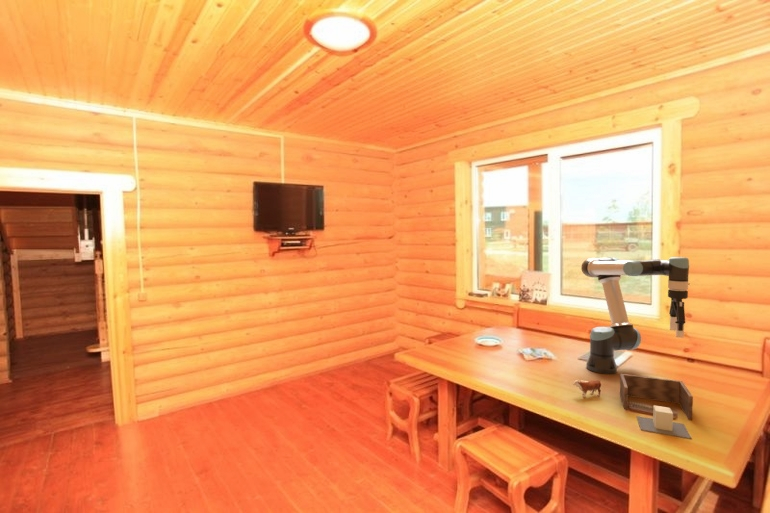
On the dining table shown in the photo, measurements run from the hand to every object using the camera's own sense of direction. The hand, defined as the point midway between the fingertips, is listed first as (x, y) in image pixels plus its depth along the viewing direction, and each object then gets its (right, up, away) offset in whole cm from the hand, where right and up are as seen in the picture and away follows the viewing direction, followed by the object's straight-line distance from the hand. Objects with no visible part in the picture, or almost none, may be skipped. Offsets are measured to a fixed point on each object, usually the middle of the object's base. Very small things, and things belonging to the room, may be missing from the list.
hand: (676, 333), depth 186 cm
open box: (-20, -30, -13) cm, 38 cm away
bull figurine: (-43, -30, -1) cm, 52 cm away
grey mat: (-29, -31, -31) cm, 53 cm away
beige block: (-29, -31, -31) cm, 52 cm away
